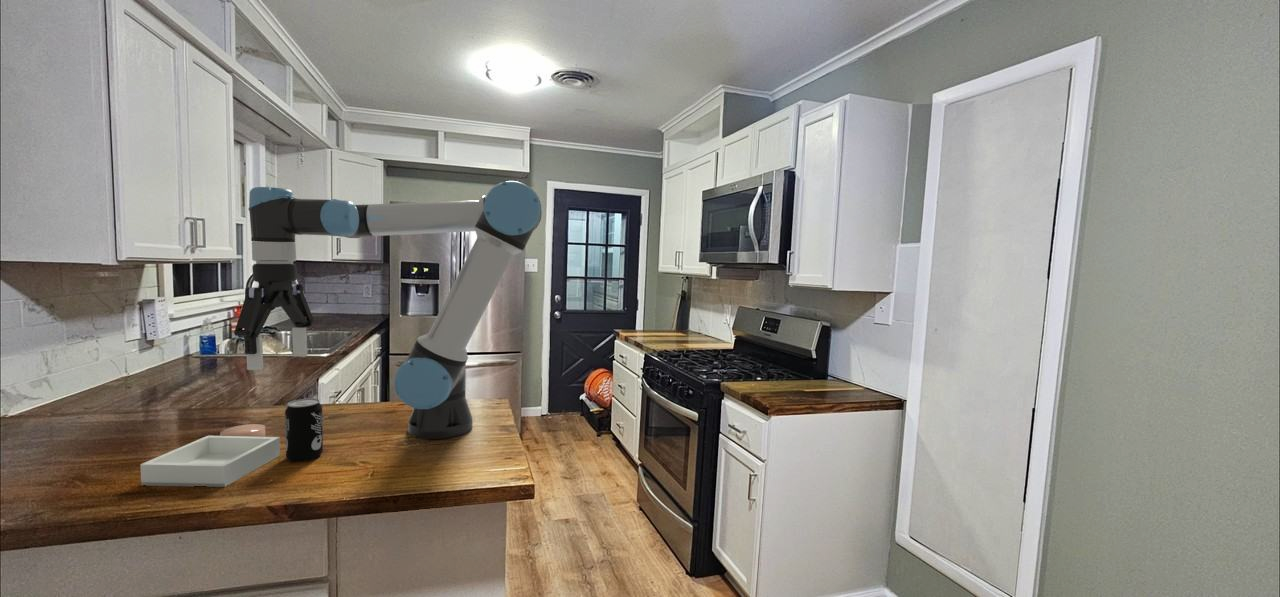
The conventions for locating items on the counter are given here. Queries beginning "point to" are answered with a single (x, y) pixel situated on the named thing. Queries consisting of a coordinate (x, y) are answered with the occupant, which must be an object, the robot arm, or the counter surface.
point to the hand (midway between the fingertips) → (279, 362)
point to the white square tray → (210, 461)
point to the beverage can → (303, 430)
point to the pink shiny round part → (245, 431)
